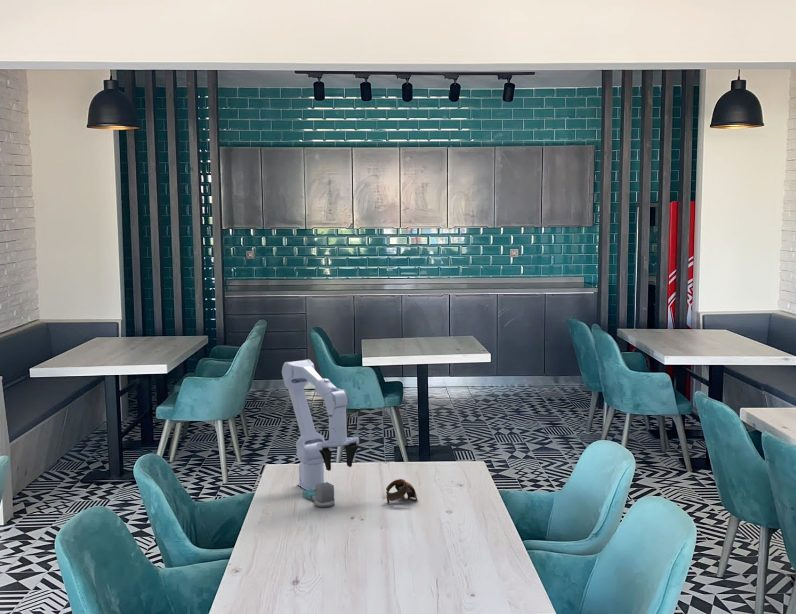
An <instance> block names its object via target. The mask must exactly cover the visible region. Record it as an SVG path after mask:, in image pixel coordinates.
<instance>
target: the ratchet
mask: <svg viewBox="0 0 796 614" xmlns="http://www.w3.org/2000/svg"><path fill="white" fill-rule="evenodd" d="M304 496H305V497H304ZM302 497H304V498H306V499H307V498H308V500H309V499H310V500H309V501H312V502H313V503H314V506H315V508H318V509H319V508H320V509H326V508H327V509H328V508H332V507H334V506H335V503H336V499H335V498H334V501H331V502H326V503H320V502H319V501H317V500H316V493H315V490H306V489H305V490H302Z"/></svg>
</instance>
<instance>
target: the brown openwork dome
mask: <svg viewBox="0 0 796 614" xmlns="http://www.w3.org/2000/svg"><path fill="white" fill-rule="evenodd" d="M392 488H394V489H396V491H394V492H390V490H392ZM385 490H386V492H385V493H386V495H385V497H386V501H387V503H388V502H389V503H390V502H395V501H397V500H400V499H406V496H405V495H407V498H408V497H411V498H413V499H415V502H416V501H417V502H418V497H417V496H418V495H417V493H416V489H415V488H414V486H413V485H412V484H411V483H410V482H407V481H406V480H405V479H404V478H403V479H402V478H398V479H395V480H393V481H391V482H390V483H388V485H387V486H386V489H385Z"/></svg>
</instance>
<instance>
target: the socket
mask: <svg viewBox="0 0 796 614" xmlns="http://www.w3.org/2000/svg"><path fill="white" fill-rule="evenodd" d="M334 486H335V485H333V484H332V483H330V482H328V481H325V482H324V483H321V484H316V485H315V490H314V491H315V493H316V500H317V501H319V502H320V503H326V502H331V501H334V499H335V487H334Z"/></svg>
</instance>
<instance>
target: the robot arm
mask: <svg viewBox="0 0 796 614" xmlns="http://www.w3.org/2000/svg"><path fill="white" fill-rule="evenodd" d="M281 375H282V379H283V383H284V386H285V388H286V389H287V390H288V393H289V397H290V400H291V404H292V407H293V408H292V409H293V410H294V411H293V412H294V414H295V419H296V422H297V426H298V429H299V432H300V437H299V438H298V439H297V440H296V442H295V447H296V456H297V459H298V460H299V462H300V463H299V465H298V482H297V483H296V485H297V484H298V485H299V486H298V485H297V486H298V487H300V486H301V488H302V489H303V490H305V491H306V490H313V491H315V485H316V484H321V483H325V470H324V469H326V471H328V472H330V471H331V470H332V462H331V461H332V453H333V451H332V450H330V449H331V448H337V447H345V455H346V457H345V458H346V466H347V467H349V468H352V466H353V461H354V458H355V455H356V452H357V451H358V449H359V446H358V445H359V444H360V438H359V437H357V436H353V437H348V436H347V435H348V432H347V430H348V429H347V407H348V406H349V404H350V396H349V393H348V391H347V390H346V389H341V388H338V387H337V386H335V384H333V382H331V381H330V379H329V378H323V377H322V376H321V375H320V374H319V373H318V372H317V371H316V369H315V364H314V363H313V361H311V359H309V358H308V359H302V360H296V361H295V360H294V361H285V362H284V363H283V365H282V368H281ZM309 384H311V385H312V386H314V390H315V392H316V393H317V394H318V395H319V396H320V397H321V399H323V400H324V406H325V408H326V413H327V415H328V435H329V436H328V437H329V438H328V439H329V440H325V437H324V435H322V434H321V433H319V432H317V431H316V428H315V424H314V421H313V417H312V414H311V410H310V407H309V403H308V399H307V395H306V393H305V387H306V386H307V385H309ZM324 466H325V468H324Z"/></svg>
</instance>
